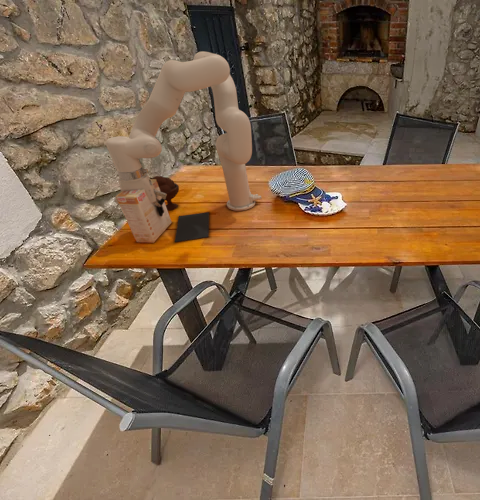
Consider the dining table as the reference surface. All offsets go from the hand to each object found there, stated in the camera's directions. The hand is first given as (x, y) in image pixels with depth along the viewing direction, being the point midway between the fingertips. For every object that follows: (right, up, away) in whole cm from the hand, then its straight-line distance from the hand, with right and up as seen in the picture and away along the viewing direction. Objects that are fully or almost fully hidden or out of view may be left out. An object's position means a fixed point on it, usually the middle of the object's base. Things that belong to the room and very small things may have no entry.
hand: (148, 216), depth 122 cm
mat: (+13, -3, +8) cm, 16 cm away
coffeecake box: (0, -6, +4) cm, 8 cm away
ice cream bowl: (-3, +6, +21) cm, 22 cm away
